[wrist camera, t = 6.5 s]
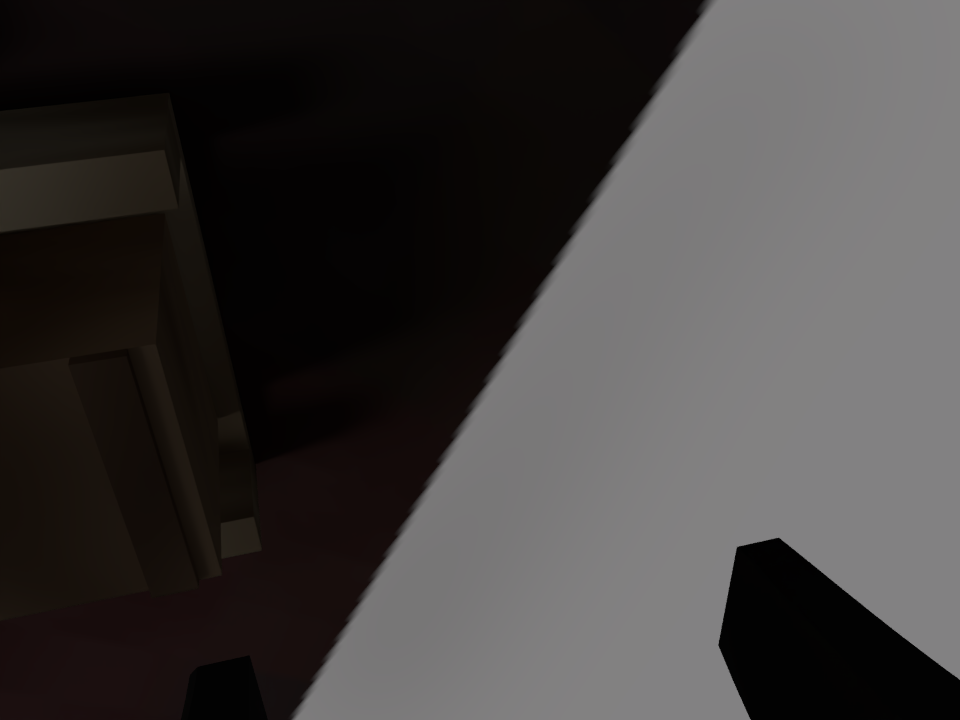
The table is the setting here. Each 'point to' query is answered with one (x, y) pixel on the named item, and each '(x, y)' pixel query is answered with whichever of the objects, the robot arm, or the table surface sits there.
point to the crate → (102, 420)
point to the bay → (128, 194)
